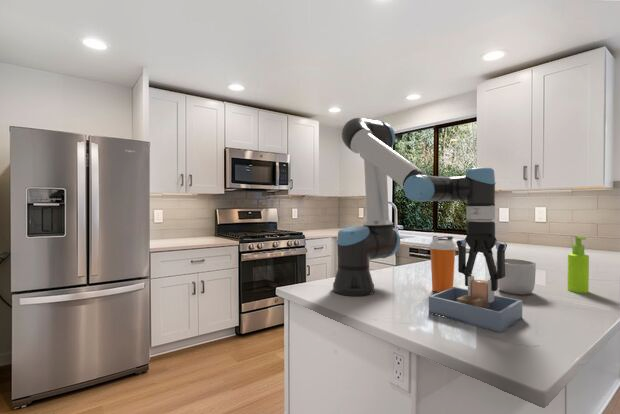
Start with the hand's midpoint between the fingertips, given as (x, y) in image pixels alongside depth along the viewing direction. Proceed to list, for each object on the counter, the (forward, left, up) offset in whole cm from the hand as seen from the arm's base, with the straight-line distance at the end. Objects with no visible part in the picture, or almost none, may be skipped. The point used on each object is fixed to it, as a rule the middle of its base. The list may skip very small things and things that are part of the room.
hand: (480, 299), depth 98 cm
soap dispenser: (+14, +49, -4) cm, 51 cm away
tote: (0, -4, -4) cm, 6 cm away
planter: (-1, +32, -4) cm, 32 cm away
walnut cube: (0, -7, -3) cm, 8 cm away
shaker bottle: (-19, +14, -4) cm, 24 cm away
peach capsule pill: (0, 0, -2) cm, 2 cm away
